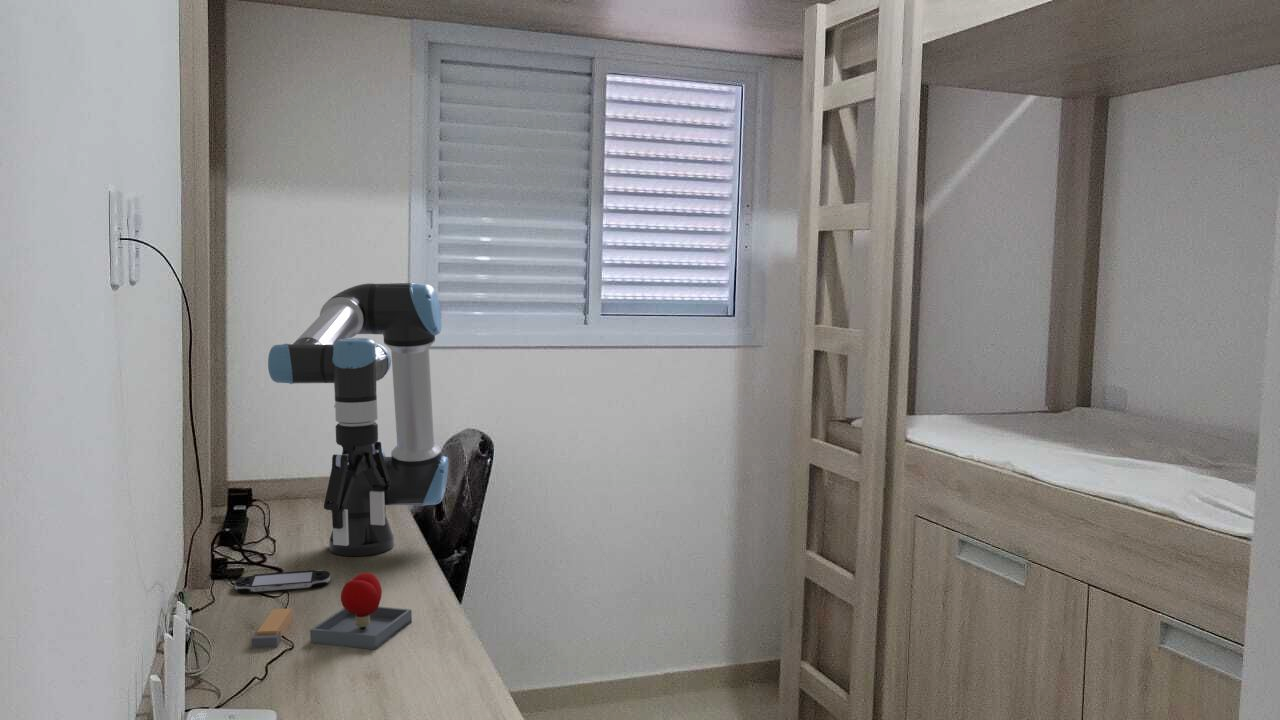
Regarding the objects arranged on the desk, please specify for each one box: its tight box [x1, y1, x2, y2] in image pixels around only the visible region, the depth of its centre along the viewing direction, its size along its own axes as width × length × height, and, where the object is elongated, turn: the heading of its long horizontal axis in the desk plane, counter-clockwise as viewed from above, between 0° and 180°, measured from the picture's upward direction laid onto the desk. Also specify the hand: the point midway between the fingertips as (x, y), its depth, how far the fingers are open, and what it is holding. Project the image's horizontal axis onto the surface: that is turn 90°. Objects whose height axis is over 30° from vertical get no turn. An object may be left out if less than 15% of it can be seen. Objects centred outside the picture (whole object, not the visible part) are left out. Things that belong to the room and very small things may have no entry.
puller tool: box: [251, 607, 293, 649], centre depth 194 cm, size 14×4×2 cm, turn 6°
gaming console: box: [234, 569, 331, 595], centre depth 222 cm, size 19×9×2 cm, turn 104°
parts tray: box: [309, 606, 413, 650], centre depth 195 cm, size 14×13×2 cm
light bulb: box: [340, 572, 382, 629], centre depth 195 cm, size 9×7×10 cm
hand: (360, 534), depth 193 cm, fingers open, 13 cm apart
